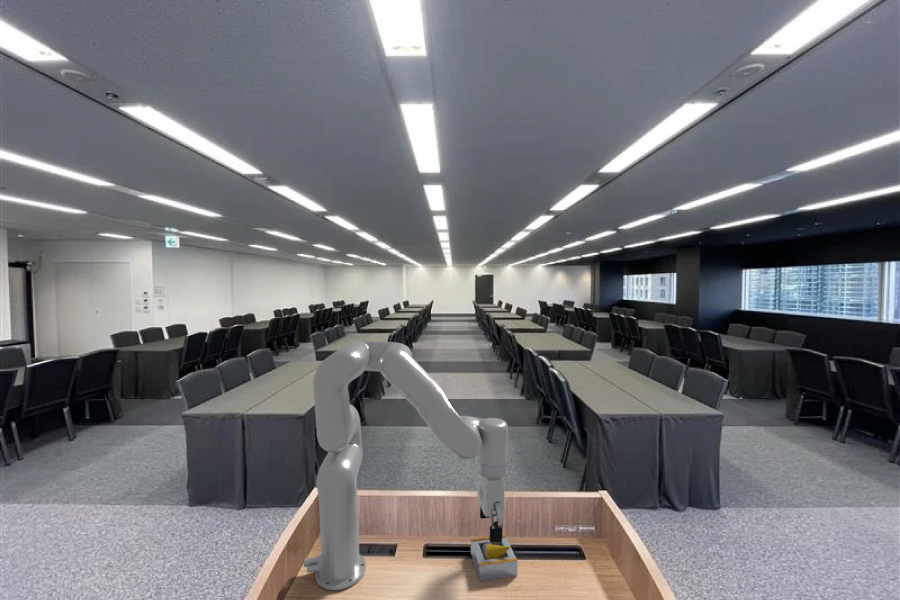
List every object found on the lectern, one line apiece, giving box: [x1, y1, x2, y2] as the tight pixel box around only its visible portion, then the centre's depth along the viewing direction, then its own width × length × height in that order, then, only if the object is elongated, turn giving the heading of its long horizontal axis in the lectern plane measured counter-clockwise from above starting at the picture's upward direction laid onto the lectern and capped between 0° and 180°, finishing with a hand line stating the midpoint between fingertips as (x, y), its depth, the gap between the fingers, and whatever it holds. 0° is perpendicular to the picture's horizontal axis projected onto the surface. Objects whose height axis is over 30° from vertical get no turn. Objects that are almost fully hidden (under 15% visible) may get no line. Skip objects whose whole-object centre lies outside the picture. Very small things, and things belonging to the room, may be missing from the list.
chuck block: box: [470, 534, 518, 582], centre depth 104 cm, size 10×10×4 cm
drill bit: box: [482, 543, 510, 560], centre depth 104 cm, size 5×5×10 cm
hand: (490, 528), depth 104 cm, fingers open, 9 cm apart
